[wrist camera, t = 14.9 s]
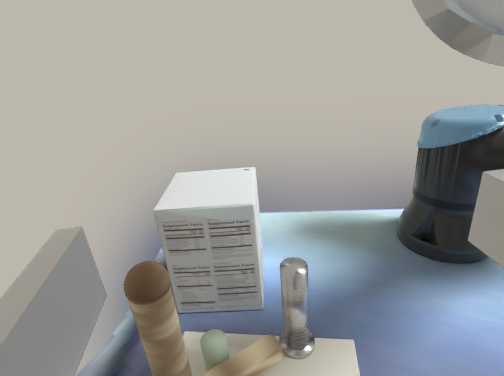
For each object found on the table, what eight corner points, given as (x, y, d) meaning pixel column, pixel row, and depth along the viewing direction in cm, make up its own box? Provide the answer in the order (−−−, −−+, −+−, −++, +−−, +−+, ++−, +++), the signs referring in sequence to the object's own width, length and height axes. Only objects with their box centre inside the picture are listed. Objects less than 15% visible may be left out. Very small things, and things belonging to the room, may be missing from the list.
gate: (268, 345, 41) (256, 209, 33) (286, 367, 38) (277, 223, 30) (162, 413, 34) (114, 264, 26) (174, 444, 31) (124, 288, 23)
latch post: (208, 351, 41) (204, 328, 39) (232, 353, 40) (228, 329, 38) (202, 374, 38) (196, 350, 36) (227, 376, 37) (223, 351, 36)
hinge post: (280, 328, 43) (275, 253, 38) (314, 330, 42) (313, 254, 37) (278, 358, 39) (272, 278, 34) (315, 360, 38) (314, 279, 33)
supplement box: (192, 259, 60) (175, 171, 53) (264, 255, 59) (256, 165, 52) (175, 314, 48) (150, 210, 41) (265, 310, 47) (255, 203, 40)
